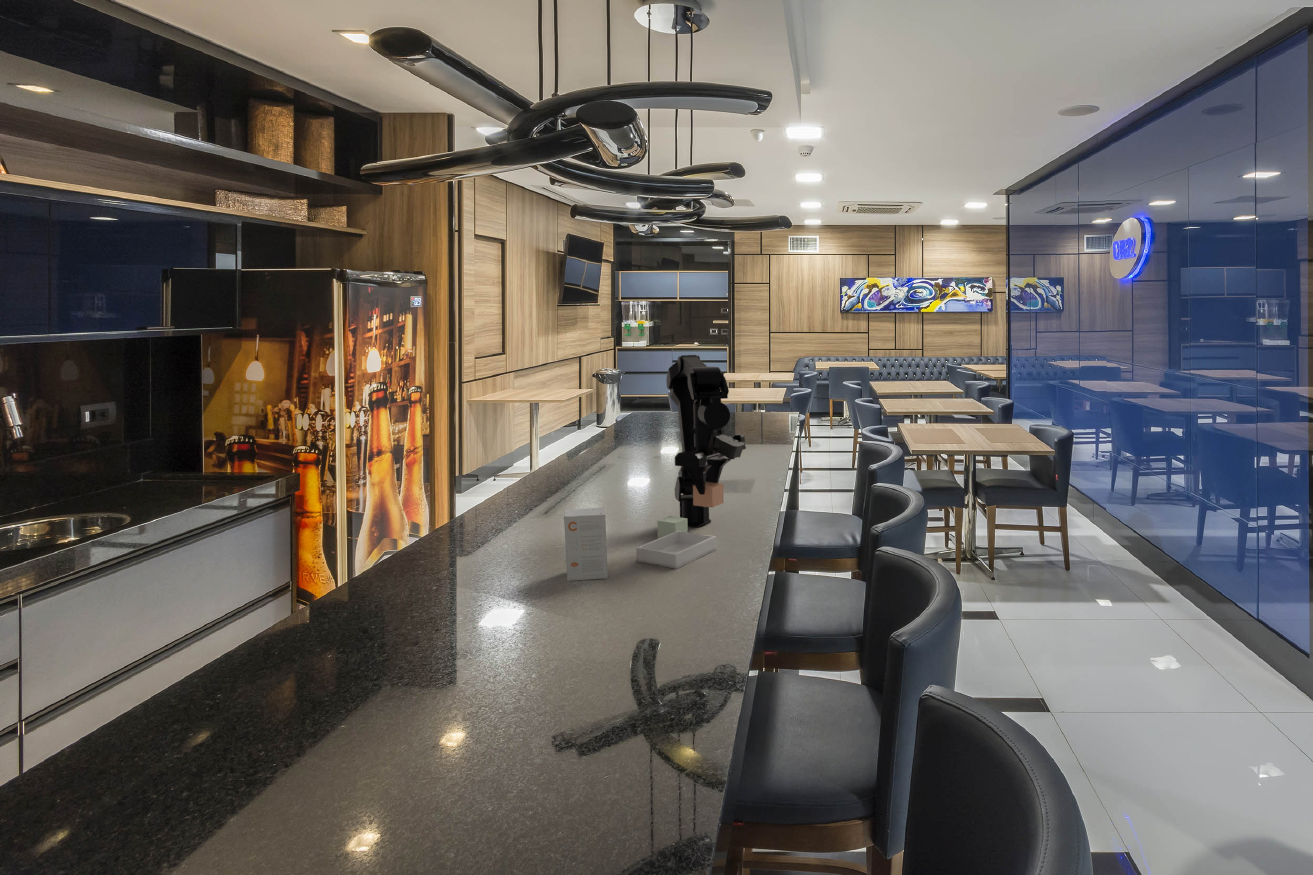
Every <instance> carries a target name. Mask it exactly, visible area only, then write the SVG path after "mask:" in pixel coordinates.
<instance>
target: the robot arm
mask: <svg viewBox="0 0 1313 875" xmlns="http://www.w3.org/2000/svg"><path fill="white" fill-rule="evenodd" d="M700 358H701V357H700V356H699V355H697V354H685V355H684V354H682V355H680V356H678V357H677V361H676V362H675V363H673V364H672V365H671V366H669V368H668V370H667V374H666V388H667V390H669V398H670V399H671V400H672V401H673V402H674V404H675V405H676V406H677V411H678V412H677V414H678V422H679V431H680V442H681V452H678V453H677V454H676V455H675V456H674V466H676V467H680V469H679V470H678V473H677V474H678V476H677V477H676V481H675V486H674V498H675V499H676V501H678V502H679V517H680V518H687V523H688V527H696V528H699V527H701V526H704V525H707V524H709V523H711V522H712V520H711V519H710V507H704V506H696V505H693V485H695V486H696V488H697V490H698V492H699V494H701V495H703V494H704V493H705V484H706V482H712V483H720V478H721V475H722V472H723V469H724V466H726V465H727V464H728V463H729V462H730V461H731V460H735V459H737V458H741V455H742V453H743V450H746V449H747V446H746V438H745V435H742V434H741V433H738V434H735V435H734V436H732V435H730V436H728V435H726V433H725V429H724V427H725V426H727V425H728V423H729V422H730V419H731V412H730V409H729V408H728V406H727V405H726V404H724V403H723V402H722V399H725V400H726V399H728V398H729V397H728V396H729V392H730V390H729V386H728V383H727V378H726V376H724V372H723V371H721V368H720V367H718V366H707V365H706V363H704V362H703V361H702V360H701V359H700Z"/></svg>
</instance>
